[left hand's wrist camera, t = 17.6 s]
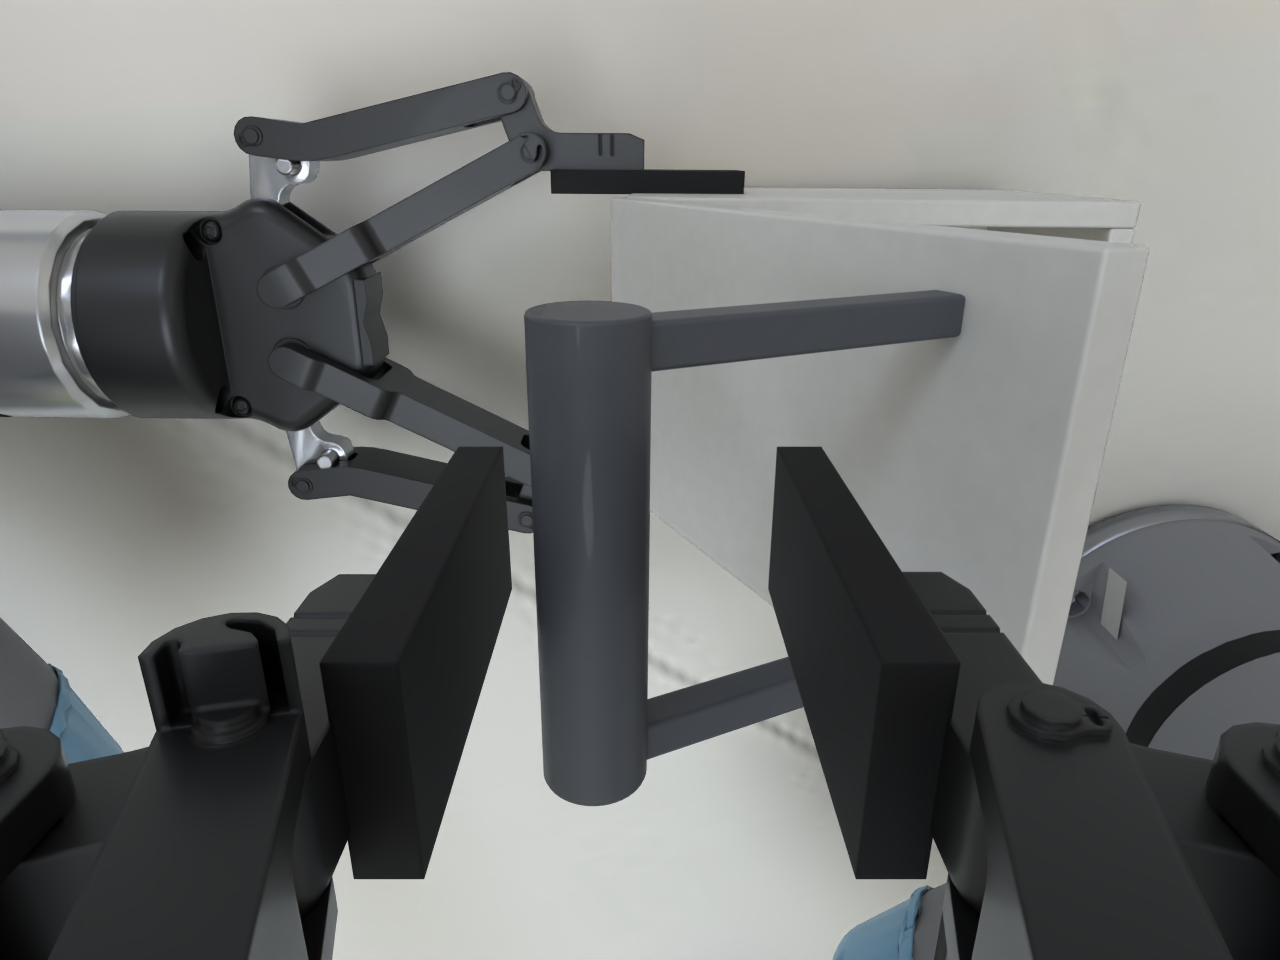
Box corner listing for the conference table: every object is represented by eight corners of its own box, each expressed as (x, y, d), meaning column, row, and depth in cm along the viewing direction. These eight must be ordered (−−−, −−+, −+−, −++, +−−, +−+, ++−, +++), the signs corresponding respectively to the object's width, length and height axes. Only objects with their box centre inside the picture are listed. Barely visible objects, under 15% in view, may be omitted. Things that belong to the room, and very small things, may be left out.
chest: (1004, 189, 35) (1142, 201, 25) (971, 397, 38) (1082, 482, 28) (636, 186, 35) (625, 196, 25) (635, 392, 39) (625, 475, 29)
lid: (1153, 245, 12) (613, 276, 8) (1036, 766, 15) (615, 950, 11) (639, 197, 25) (350, 201, 21) (637, 478, 28) (386, 521, 25)
